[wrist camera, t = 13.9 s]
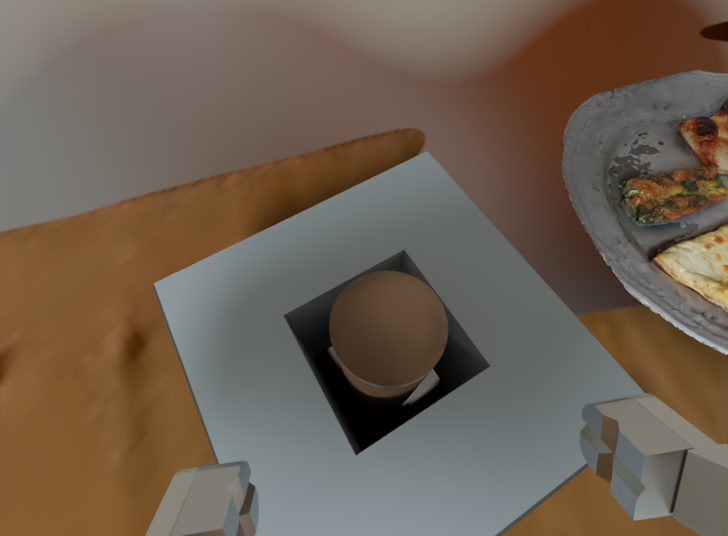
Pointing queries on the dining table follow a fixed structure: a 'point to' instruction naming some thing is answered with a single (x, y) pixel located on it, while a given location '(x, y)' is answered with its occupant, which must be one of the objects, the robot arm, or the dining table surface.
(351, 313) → the beige cylinder
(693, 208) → the food plate
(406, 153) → the dining table surface
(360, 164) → the dining table surface
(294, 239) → the collar block
